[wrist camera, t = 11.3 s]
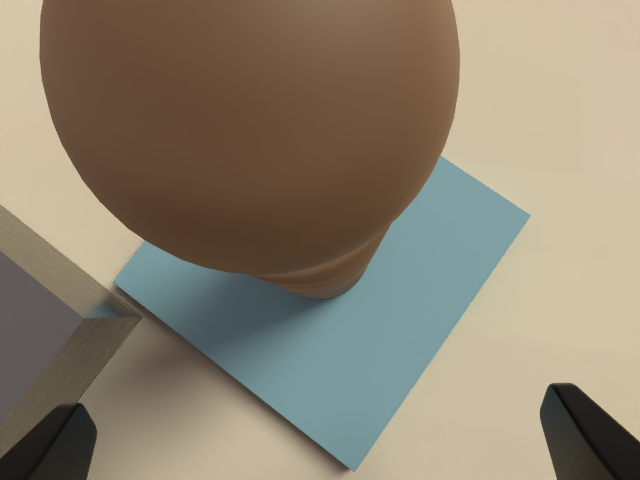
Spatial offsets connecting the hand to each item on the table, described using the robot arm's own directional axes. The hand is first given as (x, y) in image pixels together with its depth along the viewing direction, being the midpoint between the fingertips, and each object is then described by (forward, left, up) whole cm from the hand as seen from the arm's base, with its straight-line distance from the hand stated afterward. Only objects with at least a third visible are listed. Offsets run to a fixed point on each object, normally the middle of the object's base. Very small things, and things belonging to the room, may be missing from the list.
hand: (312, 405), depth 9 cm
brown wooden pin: (+3, +3, -7) cm, 9 cm away
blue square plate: (+3, +3, -8) cm, 9 cm away
